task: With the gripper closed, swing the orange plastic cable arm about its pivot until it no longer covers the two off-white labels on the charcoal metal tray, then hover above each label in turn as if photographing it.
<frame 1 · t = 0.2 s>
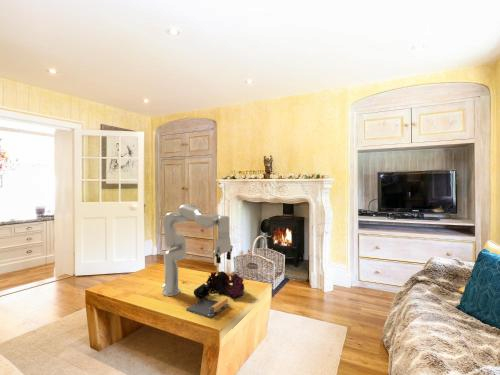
hand: (223, 261, 168), 30 cm above the table, fingers open, 9 cm apart
cable arm: (218, 305, 163), point 4 cm above the table, hinge at 0.0°
end cap: (202, 295, 185), on the table, touching flower arrangement
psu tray: (207, 308, 167), on the table
flower arrangement: (226, 292, 192), on the table, touching end cap
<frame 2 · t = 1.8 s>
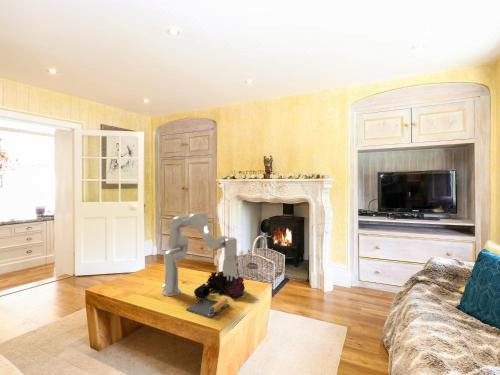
hand: (230, 286, 163), 16 cm above the table, fingers closed
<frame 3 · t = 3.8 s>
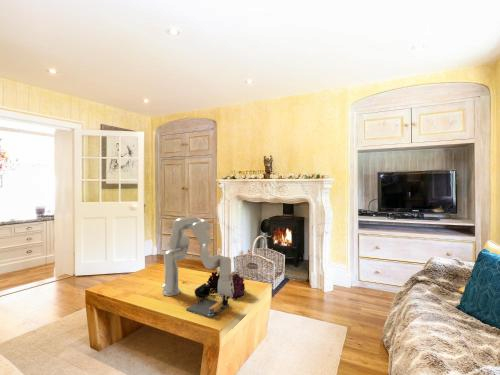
hand: (225, 305, 165), 3 cm above the table, fingers closed
cable arm: (217, 305, 163), point 4 cm above the table, hinge at 1.9°, touching gripper
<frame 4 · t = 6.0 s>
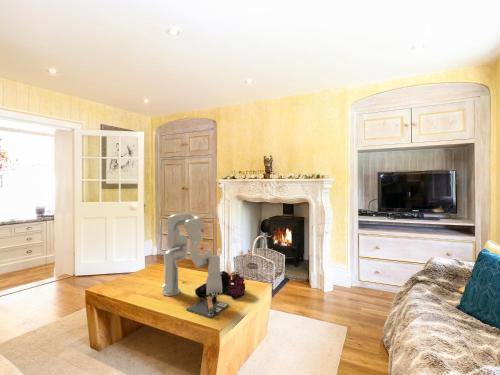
hand: (214, 302, 168), 3 cm above the table, fingers closed
cable arm: (210, 305, 164), point 4 cm above the table, hinge at 43.1°, touching gripper
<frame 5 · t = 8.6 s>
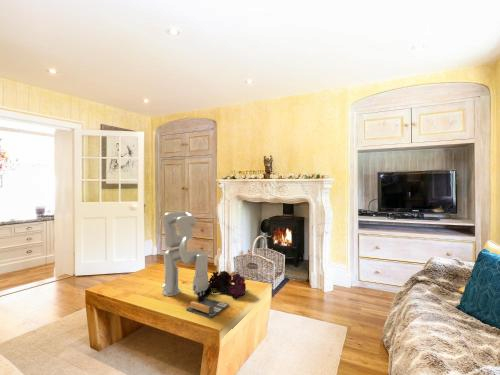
hand: (200, 300, 166), 5 cm above the table, fingers closed
cable arm: (202, 307, 161), point 3 cm above the table, hinge at 88.1°
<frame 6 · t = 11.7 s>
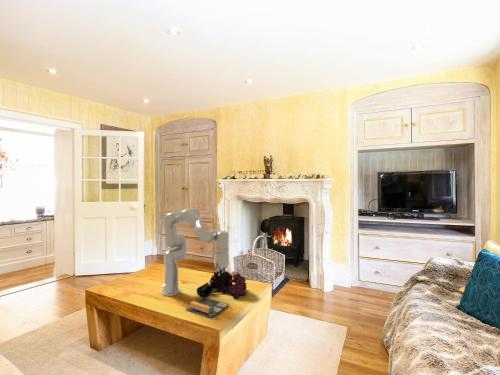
hand: (222, 278, 168), 19 cm above the table, fingers closed
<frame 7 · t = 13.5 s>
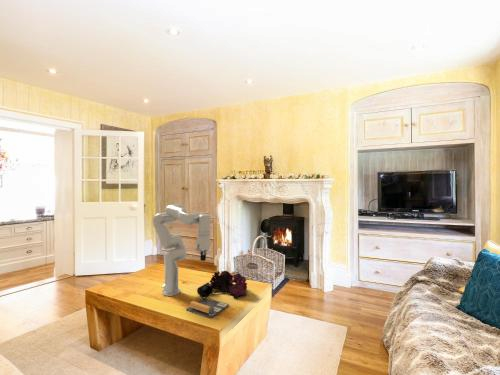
hand: (203, 260, 172), 30 cm above the table, fingers closed
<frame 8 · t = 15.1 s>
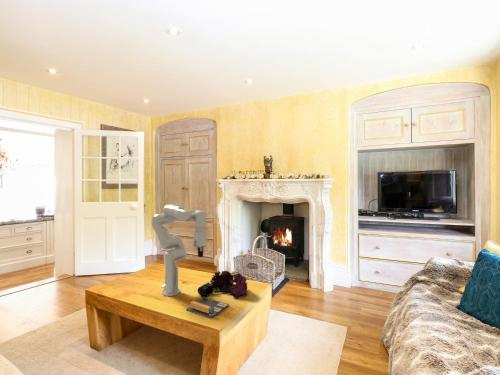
hand: (200, 256, 172), 32 cm above the table, fingers closed
at the end: cable arm at +88° (first picture: +0°) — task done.
